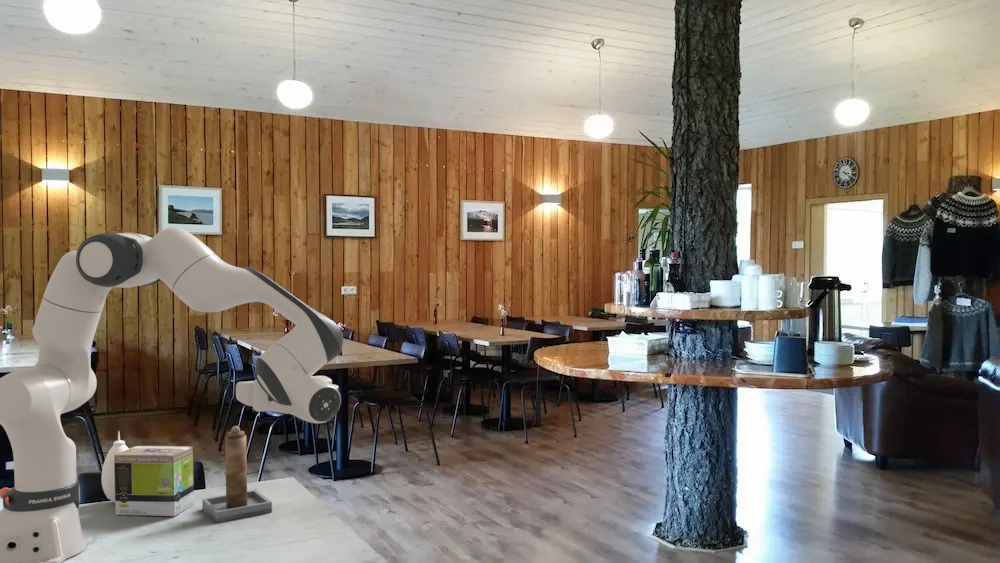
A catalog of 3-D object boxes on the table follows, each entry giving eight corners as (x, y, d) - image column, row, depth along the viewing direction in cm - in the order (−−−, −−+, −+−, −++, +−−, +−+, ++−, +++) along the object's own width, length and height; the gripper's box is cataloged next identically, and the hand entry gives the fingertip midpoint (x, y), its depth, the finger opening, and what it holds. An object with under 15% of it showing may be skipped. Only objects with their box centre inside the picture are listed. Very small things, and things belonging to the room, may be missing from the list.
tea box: (195, 504, 191) (194, 445, 190) (174, 518, 181) (173, 455, 180) (137, 502, 192) (136, 443, 192) (113, 515, 182) (112, 453, 182)
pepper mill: (229, 511, 182) (228, 429, 182) (223, 505, 186) (222, 425, 186) (249, 507, 185) (248, 426, 184) (243, 501, 189) (242, 422, 188)
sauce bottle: (124, 495, 197) (123, 426, 197) (144, 500, 193) (143, 429, 193) (95, 504, 190) (94, 432, 190) (115, 509, 186) (113, 435, 186)
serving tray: (216, 522, 177) (216, 512, 177) (202, 508, 187) (202, 499, 187) (271, 512, 185) (271, 502, 185) (255, 499, 194) (255, 489, 194)
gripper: (342, 374, 168) (317, 366, 179) (248, 381, 156) (228, 372, 168) (341, 402, 168) (317, 393, 180) (248, 412, 156) (228, 401, 168)
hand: (273, 383), depth 173 cm, fingers open, 8 cm apart
